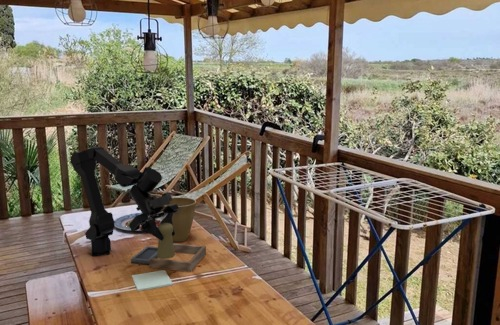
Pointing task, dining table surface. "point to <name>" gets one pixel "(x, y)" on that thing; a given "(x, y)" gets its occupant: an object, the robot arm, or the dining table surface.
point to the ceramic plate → (126, 219)
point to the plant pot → (182, 217)
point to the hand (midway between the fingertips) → (168, 237)
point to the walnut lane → (180, 265)
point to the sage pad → (151, 280)
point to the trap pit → (145, 255)
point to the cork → (165, 242)
